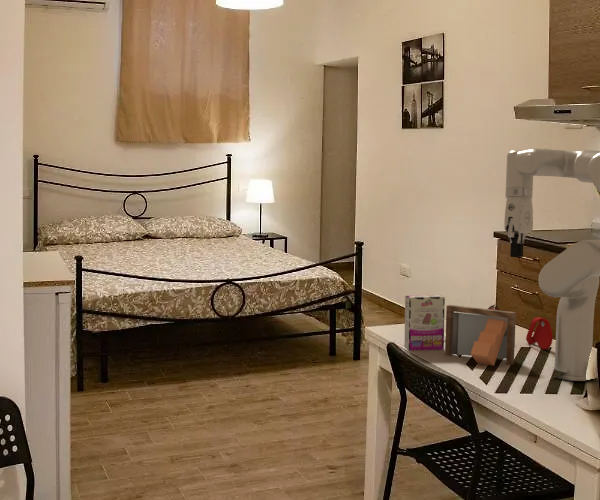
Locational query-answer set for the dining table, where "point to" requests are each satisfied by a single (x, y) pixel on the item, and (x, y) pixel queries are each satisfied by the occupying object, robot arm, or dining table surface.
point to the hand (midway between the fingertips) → (516, 256)
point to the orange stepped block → (489, 342)
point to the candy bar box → (424, 322)
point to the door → (473, 333)
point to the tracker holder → (540, 333)
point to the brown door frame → (453, 308)
